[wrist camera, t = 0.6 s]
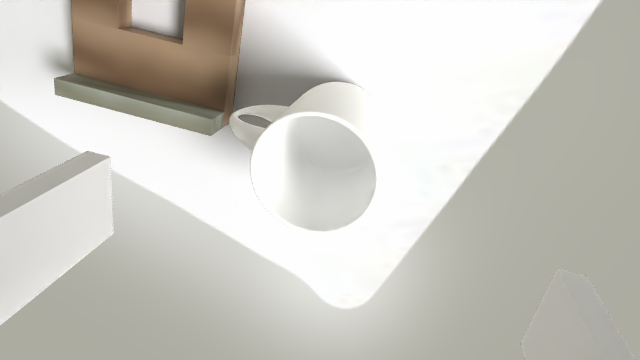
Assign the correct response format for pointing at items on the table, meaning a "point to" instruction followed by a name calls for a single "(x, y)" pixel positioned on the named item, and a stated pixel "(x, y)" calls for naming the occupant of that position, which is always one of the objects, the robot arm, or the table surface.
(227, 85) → the jig
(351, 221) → the mug
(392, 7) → the table surface
